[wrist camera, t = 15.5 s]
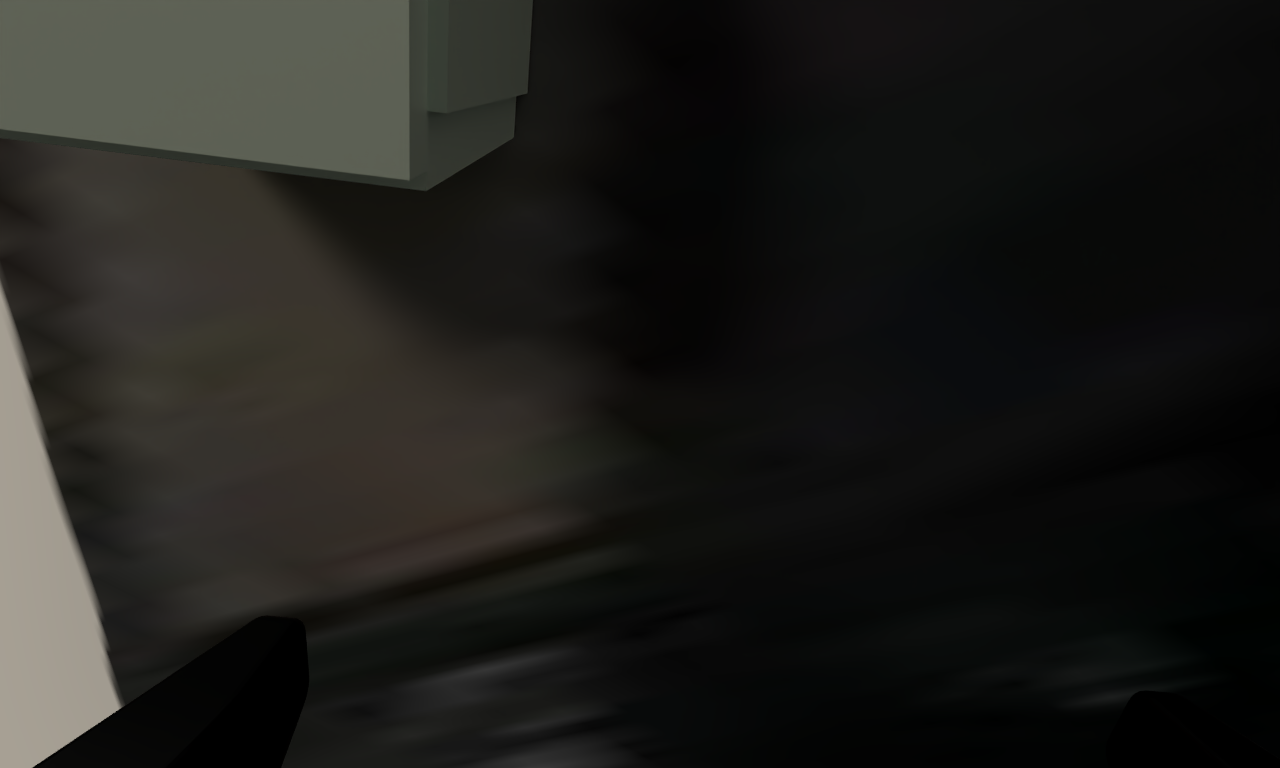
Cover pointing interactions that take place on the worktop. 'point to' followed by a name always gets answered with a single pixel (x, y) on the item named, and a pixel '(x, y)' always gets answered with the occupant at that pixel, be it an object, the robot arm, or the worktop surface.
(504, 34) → the sage green lidded box
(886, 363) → the worktop surface
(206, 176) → the worktop surface
